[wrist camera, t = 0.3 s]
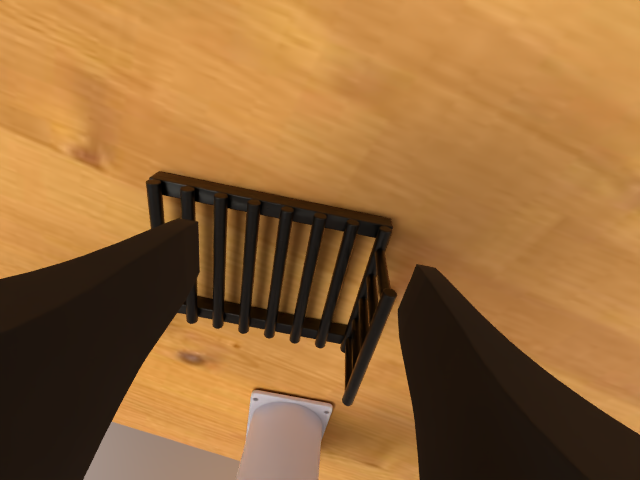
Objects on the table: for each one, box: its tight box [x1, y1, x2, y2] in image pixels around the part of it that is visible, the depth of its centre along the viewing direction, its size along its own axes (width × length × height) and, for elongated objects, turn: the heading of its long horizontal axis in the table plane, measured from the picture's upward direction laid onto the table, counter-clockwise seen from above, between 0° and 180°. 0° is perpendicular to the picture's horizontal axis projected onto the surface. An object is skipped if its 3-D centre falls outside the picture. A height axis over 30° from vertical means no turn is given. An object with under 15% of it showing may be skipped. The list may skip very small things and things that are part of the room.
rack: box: [146, 171, 397, 406], centre depth 20 cm, size 11×15×7 cm
